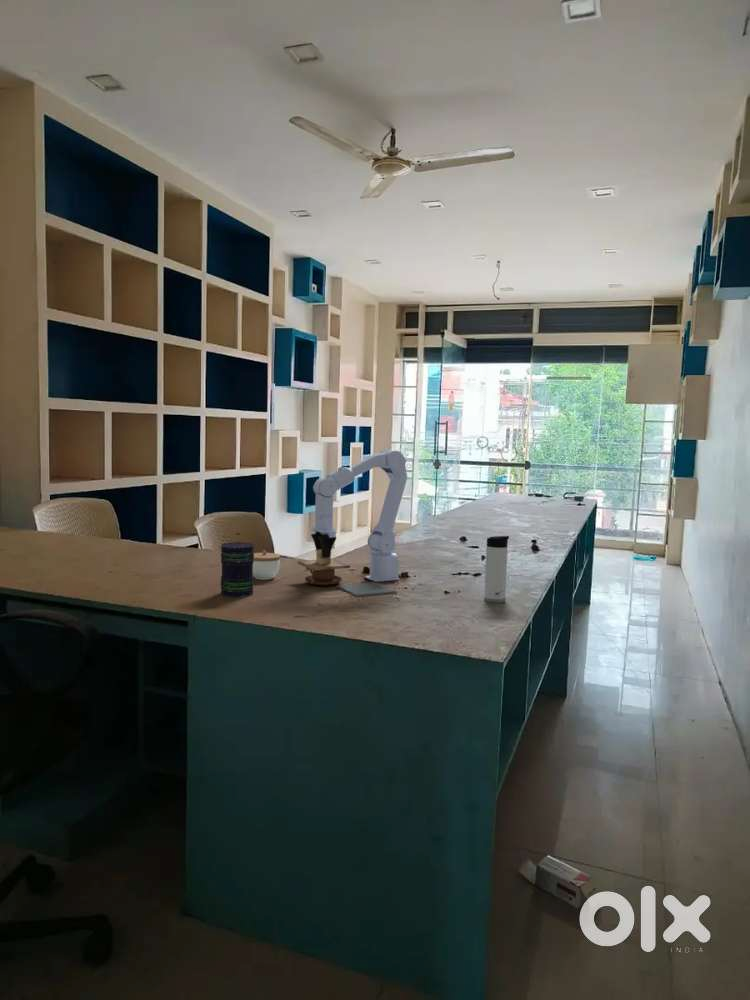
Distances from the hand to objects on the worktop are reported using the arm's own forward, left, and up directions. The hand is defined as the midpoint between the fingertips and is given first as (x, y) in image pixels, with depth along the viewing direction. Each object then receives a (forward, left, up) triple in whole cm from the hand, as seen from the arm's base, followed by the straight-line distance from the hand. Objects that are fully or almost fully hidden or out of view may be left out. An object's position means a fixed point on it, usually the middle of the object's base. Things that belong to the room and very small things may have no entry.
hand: (323, 556), depth 224 cm
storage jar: (+30, +4, -9) cm, 32 cm away
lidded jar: (+15, -15, -9) cm, 23 cm away
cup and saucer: (0, 0, -10) cm, 10 cm away
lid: (0, 0, -3) cm, 3 cm away
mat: (-9, +14, -9) cm, 19 cm away
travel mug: (-39, +41, -9) cm, 57 cm away
